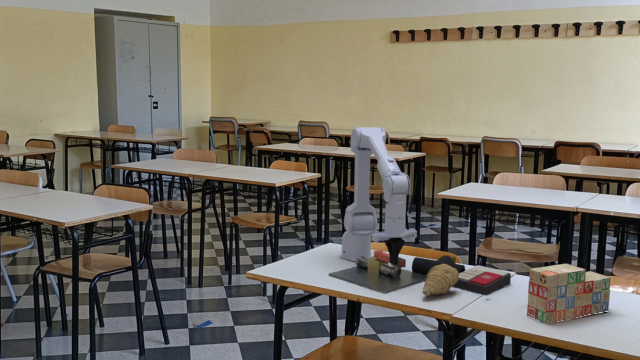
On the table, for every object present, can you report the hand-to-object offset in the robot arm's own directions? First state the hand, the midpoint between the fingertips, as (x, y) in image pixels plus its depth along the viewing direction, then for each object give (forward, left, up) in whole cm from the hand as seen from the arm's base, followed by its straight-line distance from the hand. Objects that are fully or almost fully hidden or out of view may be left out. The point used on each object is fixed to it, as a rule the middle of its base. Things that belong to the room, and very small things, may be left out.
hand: (393, 263), depth 172 cm
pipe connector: (+4, +19, -6) cm, 20 cm away
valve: (-6, +1, -6) cm, 9 cm away
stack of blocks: (+45, +14, -6) cm, 47 cm away
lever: (-4, +3, -1) cm, 5 cm away
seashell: (+15, +1, -6) cm, 16 cm away
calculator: (+18, +18, -6) cm, 26 cm away
